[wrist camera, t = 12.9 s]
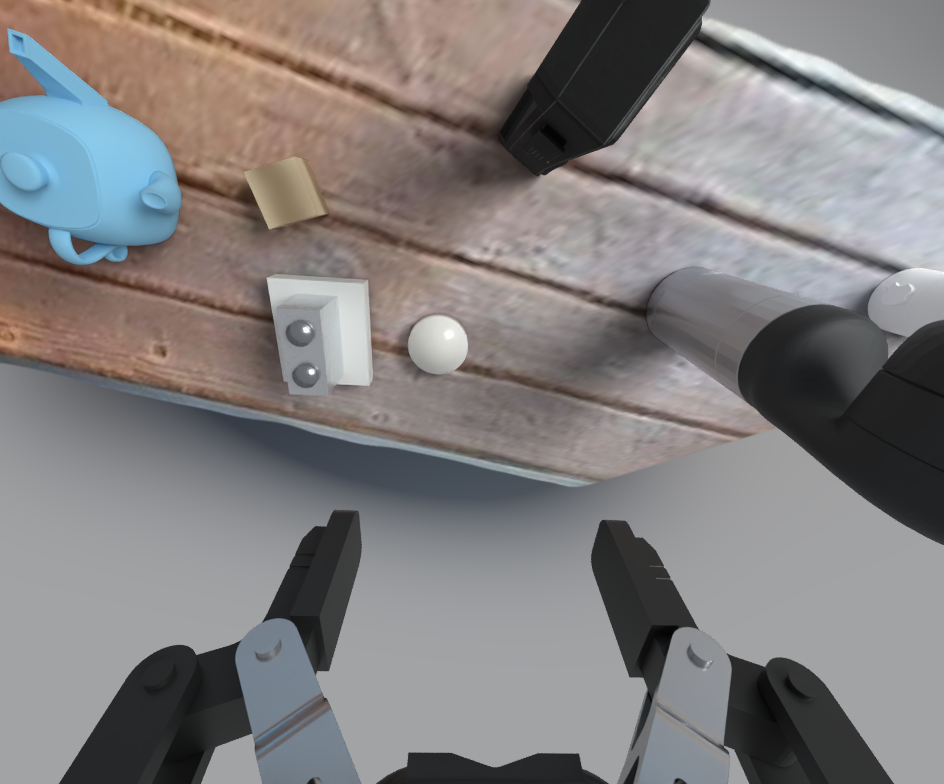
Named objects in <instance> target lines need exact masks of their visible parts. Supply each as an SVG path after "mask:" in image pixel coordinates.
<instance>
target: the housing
mask: <svg viewBox="0 0 944 784" xmlns="http://www.w3.org/2000/svg"><path fill="white" fill-rule="evenodd" d="M276 313H277V319H278V325H279V332H280V338H281V344H282V350H283V357H284V363H285V369H286V375H287V382H288V388H289V394H294V395H316V396H329V395H330V394H331V392H332V391H333V389H334V388H335V386H336V385H337V383H338V382H339V380H340V379H341V377H342V376H343V374H344V363H343V352H342V340H341V329H340V317H339V306H338V296H331V295H314V294H298V295H296V296H295V297H293V298H291V299H290V300H288V301H286V302H285V303H283V304H281V305H280V306H278V307H277V308H276Z"/></svg>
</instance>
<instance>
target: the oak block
mask: <svg viewBox="0 0 944 784" xmlns="http://www.w3.org/2000/svg"><path fill="white" fill-rule="evenodd" d="M244 174H245V176H246V179H247V181H248V183H249V185H250V188H251V190H252V192H253V194H254V196H255V199H256V201H257V203H258V205H259V208H260V210H261V212H262V214H263V216H264V219H265V221H266V223H267V225H268V227H269V229H274V228H279V227H285V226H289V225H292V224H296V223H299V222H303V221H306V220H310V219H313V218H317V217H320V216H324V215H327V214H329V211H328V209H327V206H326V203H325V201H324V198H323V196H322V193H321V190H320V188H319V185H318V182H317V180H316V177H315V175H314V172H313V169H312V167H311V164H310V161H309V160H306V159H302V158H298V157H292V158H288V159H285V160H282V161H278V162H275V163H272V164H268V165H265V166H262V167H259V168H255V169H252V170H249V171H245V172H244Z"/></svg>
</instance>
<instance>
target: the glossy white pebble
mask: <svg viewBox="0 0 944 784" xmlns="http://www.w3.org/2000/svg"><path fill="white" fill-rule="evenodd" d="M408 350H409V354H410V357H411V359H412V360H413V362H414V363H415V364H416V365H417V366H418V367H419V368H420V369H422V370H424V371H426V372H428V373H432V374H446V373H449V372H452V371H454V370H455V369H457V368H458V367H459V366H460V365H461V364H462V363H463V361H464V360H465V358H466V355H467V351H468V340H467V334H466V331H465V329H464V327H463V326H462V324H461V323H460V322H459V321H458V320H457V319H455V318H454V317H452V316H450V315H447V314H443V313H433V314H429V315H426V316H424V317H422V318H421V319H420V320H418V321H417V322H416V324H415V325H414V327H413V328H412V331H411V334H410V336H409V340H408Z"/></svg>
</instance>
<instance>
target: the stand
mask: <svg viewBox="0 0 944 784" xmlns="http://www.w3.org/2000/svg"><path fill="white" fill-rule="evenodd" d="M267 283H268V289H269V295H270V301H271V307H272V313H273V319H274V325H275V332H276V338H277V344H278V350H279V356H280V362H281V368H282V374H283V380H284V382H287V375H286V369H285V363H284V357H283V350H282V344H281V338H280V332H279V325H278V319H277V313H276V308H277V307H278V306H280V305H281V304H283V303H285V302H286V301H288V300H290V299H291V298H293V297H295V296H296V295H298V294H314V295H331V296H338V306H339V317H340V329H341V340H342V352H343V363H344V374H343V376H342V377H341V379H340V380H339V382H338V383H337V384H342V385H363V386H369V385H370V383H371V381H372V379H373V369H372V349H371V329H370V310H369V290H368V280H363V279H347V278H331V277H315V276H299V275H283V274H275V275H272V276H270V277H267Z"/></svg>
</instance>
